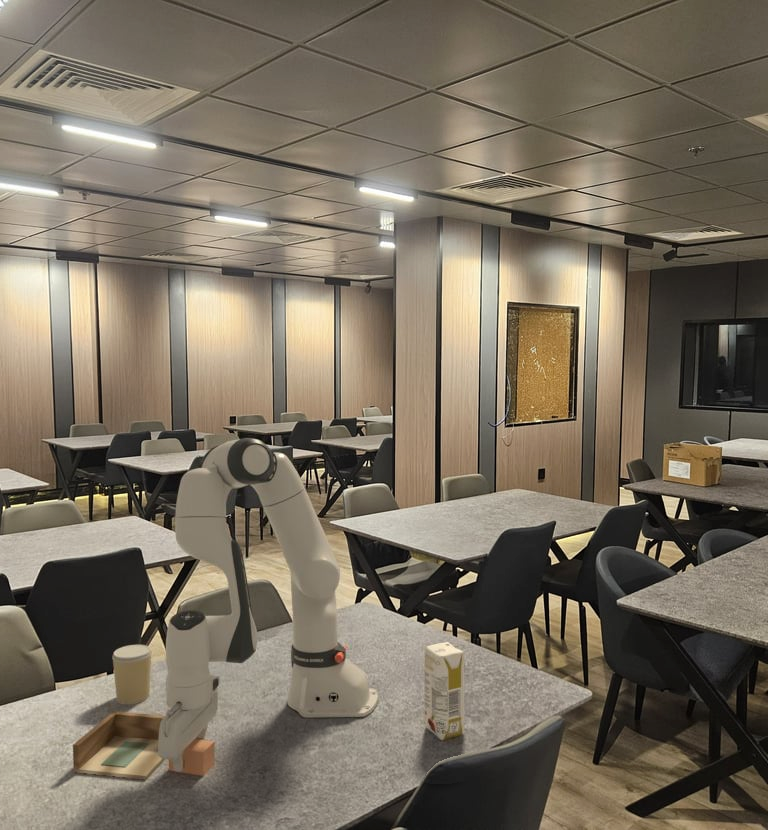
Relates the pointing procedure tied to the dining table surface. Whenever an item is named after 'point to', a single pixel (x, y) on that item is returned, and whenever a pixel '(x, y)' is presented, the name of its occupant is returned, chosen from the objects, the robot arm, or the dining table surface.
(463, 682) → the juice carton
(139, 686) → the coffee cup
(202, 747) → the brick
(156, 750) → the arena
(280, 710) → the dining table surface
